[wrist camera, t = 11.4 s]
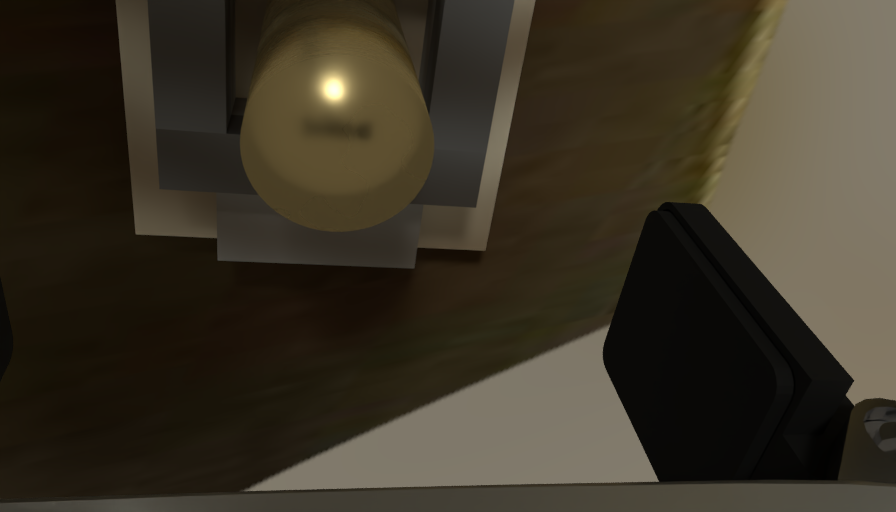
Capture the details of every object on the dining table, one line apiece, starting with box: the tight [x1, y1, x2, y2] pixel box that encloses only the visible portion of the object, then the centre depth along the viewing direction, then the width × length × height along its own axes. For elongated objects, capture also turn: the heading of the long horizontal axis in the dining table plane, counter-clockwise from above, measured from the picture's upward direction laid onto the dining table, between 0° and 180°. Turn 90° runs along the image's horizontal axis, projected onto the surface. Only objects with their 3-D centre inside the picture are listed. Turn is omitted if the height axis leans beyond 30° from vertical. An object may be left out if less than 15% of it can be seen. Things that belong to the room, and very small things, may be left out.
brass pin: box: [240, 0, 434, 232], centre depth 20 cm, size 4×4×10 cm
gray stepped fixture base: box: [116, 0, 535, 269], centre depth 23 cm, size 17×13×4 cm
